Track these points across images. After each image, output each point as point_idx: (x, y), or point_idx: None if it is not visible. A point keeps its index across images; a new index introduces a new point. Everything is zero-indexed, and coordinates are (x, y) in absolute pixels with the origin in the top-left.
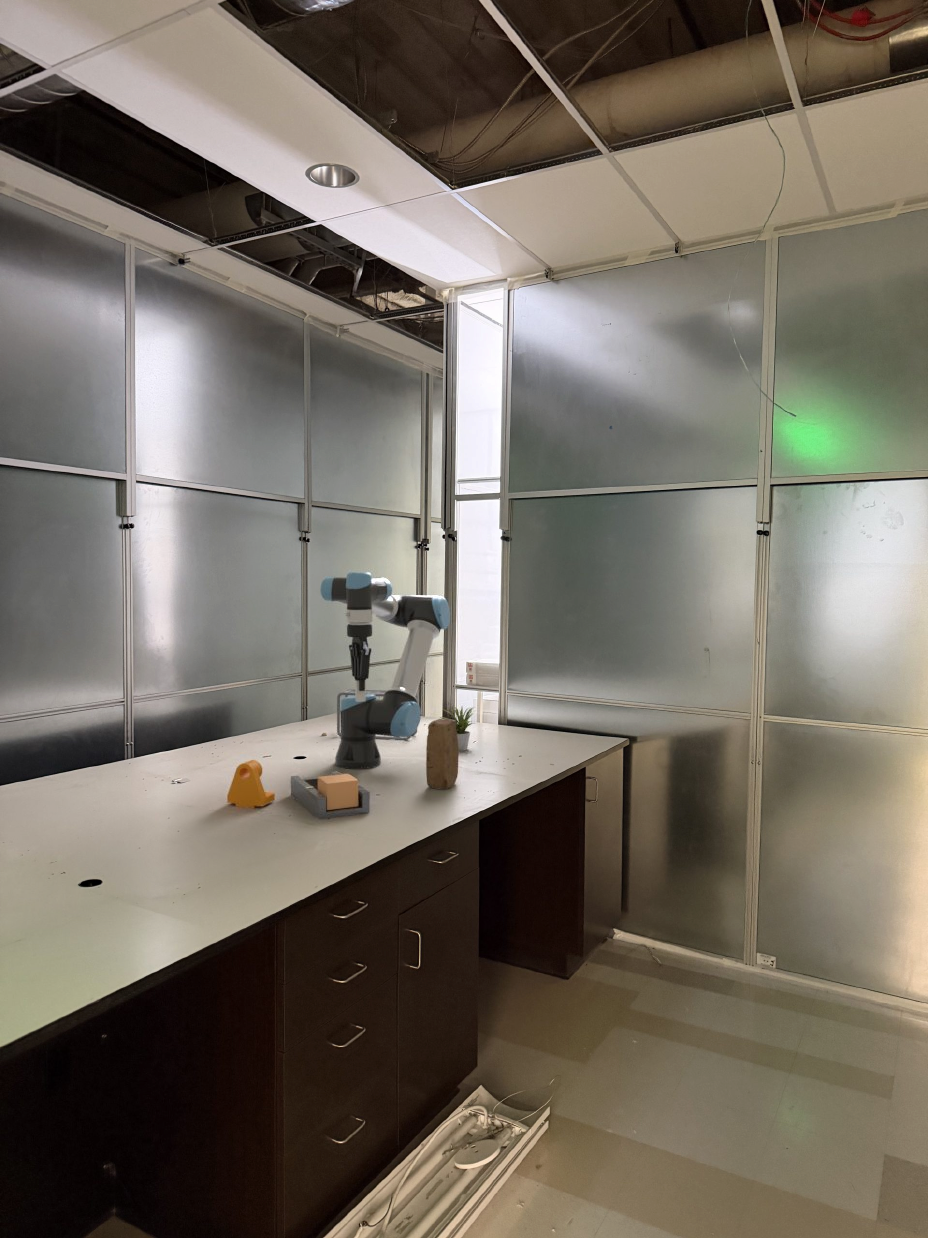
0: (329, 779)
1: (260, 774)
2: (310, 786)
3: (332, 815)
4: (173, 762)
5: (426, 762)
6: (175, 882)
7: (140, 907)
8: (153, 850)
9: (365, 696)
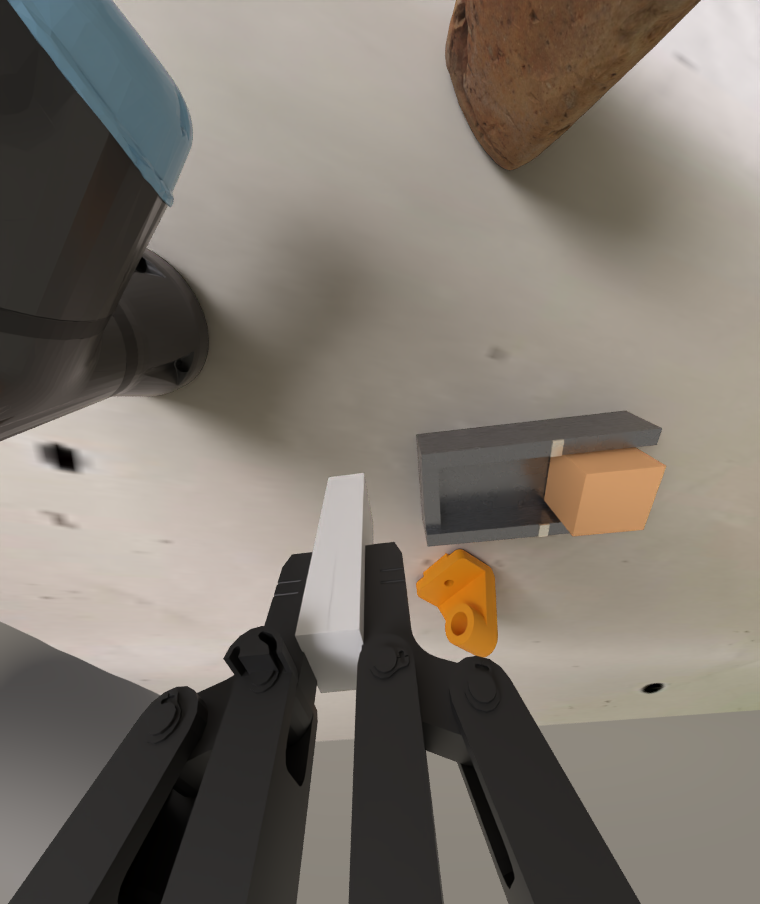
0: (612, 520)
1: (473, 609)
2: (532, 527)
3: None
4: (135, 642)
5: (547, 142)
6: (712, 645)
7: (750, 663)
8: (594, 658)
9: (363, 494)
